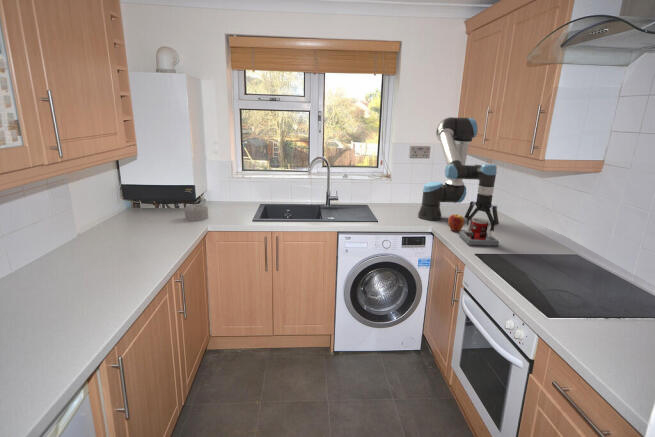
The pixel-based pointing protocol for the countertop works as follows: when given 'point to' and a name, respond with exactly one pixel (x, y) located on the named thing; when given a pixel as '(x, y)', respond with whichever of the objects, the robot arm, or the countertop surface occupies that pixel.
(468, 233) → the tray
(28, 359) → the countertop surface
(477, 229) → the canned food
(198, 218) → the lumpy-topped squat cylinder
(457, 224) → the apple
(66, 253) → the countertop surface
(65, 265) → the countertop surface
